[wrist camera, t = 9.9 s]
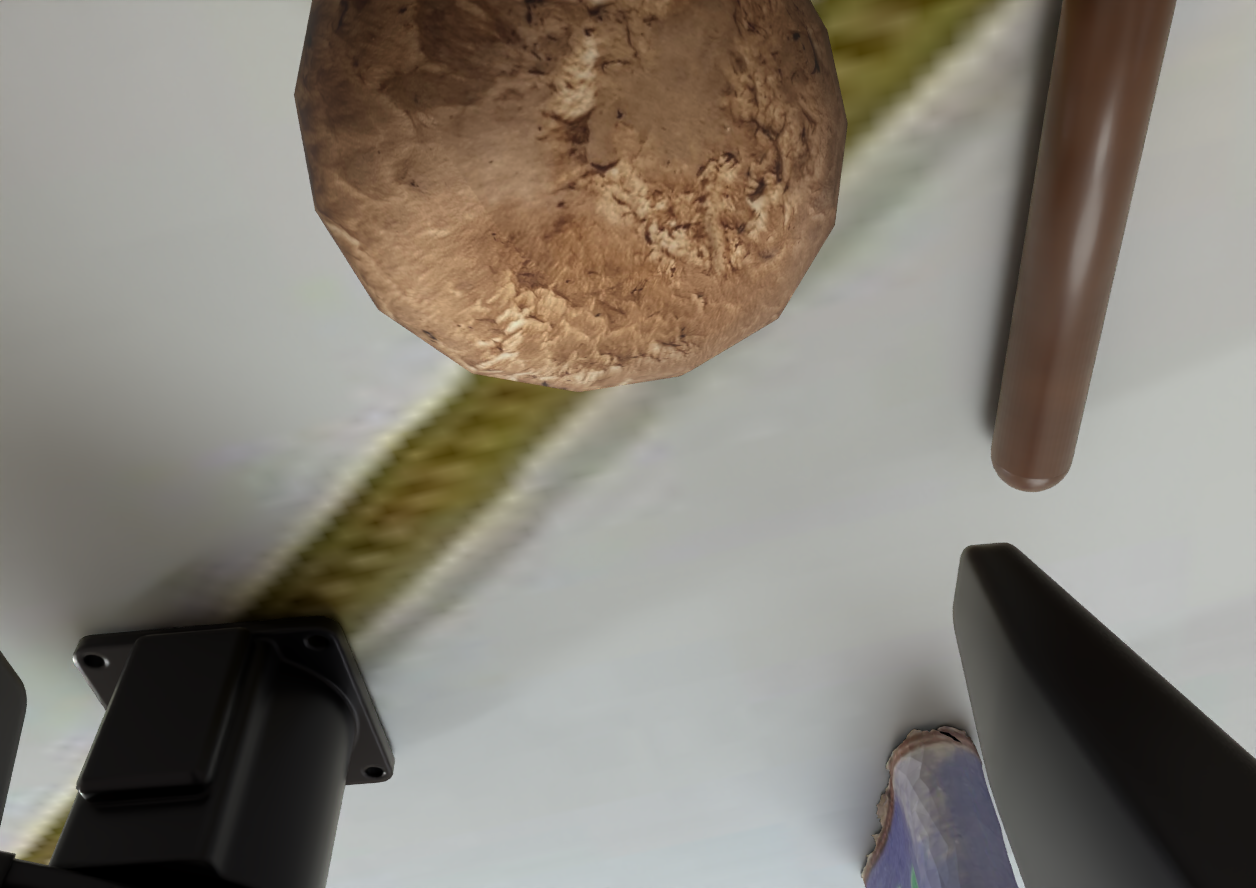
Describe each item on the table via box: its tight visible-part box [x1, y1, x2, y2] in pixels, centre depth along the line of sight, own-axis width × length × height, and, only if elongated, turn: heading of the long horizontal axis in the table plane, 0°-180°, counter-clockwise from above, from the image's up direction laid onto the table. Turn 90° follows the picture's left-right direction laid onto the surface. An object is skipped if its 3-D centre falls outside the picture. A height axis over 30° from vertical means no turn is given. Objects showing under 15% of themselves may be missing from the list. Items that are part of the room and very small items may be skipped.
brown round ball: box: [294, 0, 848, 392], centre depth 16 cm, size 8×8×6 cm
